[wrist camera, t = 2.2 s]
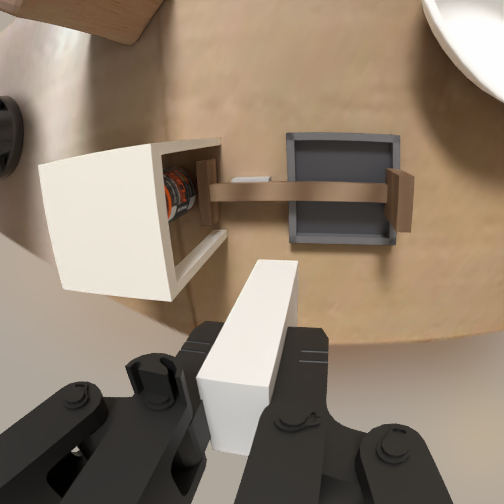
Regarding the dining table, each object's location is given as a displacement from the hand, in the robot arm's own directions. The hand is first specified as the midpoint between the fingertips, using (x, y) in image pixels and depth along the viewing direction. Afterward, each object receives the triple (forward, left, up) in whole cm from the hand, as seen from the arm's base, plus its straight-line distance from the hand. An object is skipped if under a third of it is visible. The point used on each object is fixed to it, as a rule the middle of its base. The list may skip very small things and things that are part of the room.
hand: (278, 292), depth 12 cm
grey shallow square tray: (+4, 0, -24) cm, 25 cm away
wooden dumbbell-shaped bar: (-1, 0, -24) cm, 24 cm away
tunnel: (-13, 0, -24) cm, 27 cm away
